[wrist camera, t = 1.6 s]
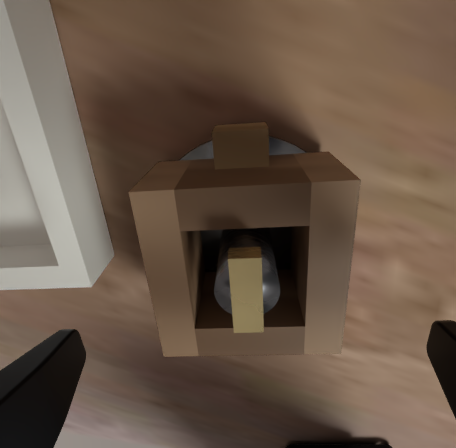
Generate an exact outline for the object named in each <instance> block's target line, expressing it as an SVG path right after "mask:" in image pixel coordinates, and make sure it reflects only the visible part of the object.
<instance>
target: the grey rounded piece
mask: <svg viewBox="0 0 456 448" xmlns="http://www.w3.org/2000/svg"><path fill="white" fill-rule="evenodd" d="M298 153H307V152H305V151H304V150H302V149H301V148H299V147H297V146H296V145H294V144H292V143H289V142H287V141H285V140H282V139H279V138H275V137H272V136H269V155H281V154H298ZM197 159H214V155H213V144H212V140H211V141H208V142H206V143H204V144H201V145H200V146H198V147H196V148H194V149H193V150H191V151H190V152H188V153H187V154H186V155H185V156H183V157H182V158H181V159H180V160H197ZM180 160H179V161H180ZM200 231H201V239H202V248H203V256H204V265H205V272H216V280H215V287H214V294H215V298H216V300H217V302H218V304H219V305H220V306H221V307H222V308H223V309H224V310H225V311H227V312H228V313H230V314H232V316H233V328H234V333H253V332H264V321H263V314H265V313H266V312H268V311H269V310H271V309H272V308H273V307H274V306H275V305H276V303H277V301H278V299H279V296H280V285H279V279H278V274H277V270H287V269H291V239H292V226H290V227H267V228H244V229H222V230H200Z"/></svg>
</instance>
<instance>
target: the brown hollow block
mask: <svg viewBox="0 0 456 448" xmlns="http://www.w3.org/2000/svg"><path fill="white" fill-rule="evenodd" d="M211 133H212V144H213V155H214V159H197V160H180V161H163V162H158V163H157V164H156V165H155V166H154V167H153V168H152V169H151V170H150V171H149V172H148V173H147V174H146V175H145V176H144V177H143V178H142V179H141V180H140V181H139V182H138V183H137V184H136V185H135V186H134V187H133V188H132V189H131V190H130V191H129V197H130V202H131V206H132V211H133V216H134V220H135V225H136V230H137V234H138V239H139V244H140V248H141V253H142V258H143V262H144V267H145V272H146V276H147V281H148V286H149V290H150V295H151V300H152V304H153V309H154V314H155V318H156V323H157V328H158V332H159V337H160V342H161V346H162V351H163V356H164V357H179V356H239V355H299V354H341V351H342V342H343V333H344V324H345V315H346V307H347V298H348V289H349V280H350V271H351V262H352V253H353V244H354V235H355V227H356V218H357V209H358V200H359V191H360V182H361V180H360V179H359V178H358V177H357V176H356V175H355V174H354V173H352V172H351V171H350V170H349V169H348V168H347V167H346V166H344V165H343V164H342V163H341V162H340V161H339V160H338V159H336V158H335V157H334V156H333V155H332V154H331V153H330V152H314V153H298V154H281V155H269V128H268V126H267V124H266V122H258V123H243V124H228V125H215V127H214V129H213V131H212V132H211ZM290 226H292V239H291V269H287V270H277V274H278V279H279V285H280V296H279V299H278V301H277V303H276V305H275V306H274V307H273V308H272V309H271V310H269V311H268V312H266V313H265V314H263V321H264V332H253V333H234V328H233V316H232V314H230V313H228V312H227V311H225V310H224V309H223V308H222V307H221V306H220V305H219V304H218V302H217V300H216V298H215V294H214V287H215V280H216V272H205V265H204V256H203V248H202V239H201V231H200V230H222V229H244V228H267V227H290Z"/></svg>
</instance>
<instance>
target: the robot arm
mask: <svg viewBox="0 0 456 448" xmlns="http://www.w3.org/2000/svg"><path fill="white" fill-rule="evenodd" d="M427 354H428V357H429V359H430V361H431V364H432V366H433V368H434V371H435V373H436V375H437V377H438V380H439V382H440V384H441V387H442V389H443V391H444V394H445V396H446V398H447V401H448V403H449V405H450V407H451V410H452V412H453V414H454V416H455V418H456V322H455V321H451V320H443V321H435V322H434V323H433V324H432V326H431V330H430V334H429V338H428V342H427ZM85 360H86V351H85V348H84V345H83V342H82V340H81V337H80V334H79V332H78V331H77V330H75V329H63V330H59V331H58V332H56V333H55V334H53V335H52V336H50V337H49V338H47V339H46V340H44V341H43V342H42V343H40V344H39V345H37V346H36V347H34V348H33V349H31V350H30V351H28V352H27V353H25V354H24V355H23V356H21V357H20V358H18V359H17V360H15V361H14V362H12V363H11V364H9V365H8V366H6V367H5V368H3V369H2V370H1V371H0V448H53V447H54V445H55V443H56V441H57V438H58V436H59V434H60V432H61V429H62V427H63V424H64V422H65V419H66V417H67V414H68V411H69V408H70V405H71V402H72V399H73V396H74V393H75V390H76V387H77V384H78V381H79V378H80V375H81V372H82V369H83V366H84V363H85ZM286 448H392V447H391V446H390V445H289V446H287V447H286Z"/></svg>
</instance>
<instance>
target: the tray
mask: <svg viewBox="0 0 456 448" xmlns="http://www.w3.org/2000/svg"><path fill="white" fill-rule="evenodd" d="M113 257H114V251H113V247H112V243H111V239H110V235H109V231H108V227H107V223H106V219H105V216H104V212H103V208H102V204H101V200H100V196H99V192H98V188H97V184H96V181H95V177H94V173H93V169H92V165H91V161H90V157H89V153H88V149H87V145H86V142H85V138H84V134H83V130H82V126H81V122H80V118H79V114H78V110H77V107H76V103H75V99H74V95H73V91H72V87H71V83H70V79H69V75H68V71H67V68H66V64H65V60H64V56H63V52H62V48H61V44H60V40H59V36H58V32H57V29H56V25H55V21H54V17H53V13H52V9H51V5H50V1H49V0H0V290H18V289H49V288H80V287H92V286H93V285H94V283H95V282H96V280H97V279H98V278H99V276H100V275H101V273H102V272H103V271H104V269H105V268H106V266H107V265H108V264H109V262H110V261H111V259H112V258H113Z"/></svg>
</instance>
